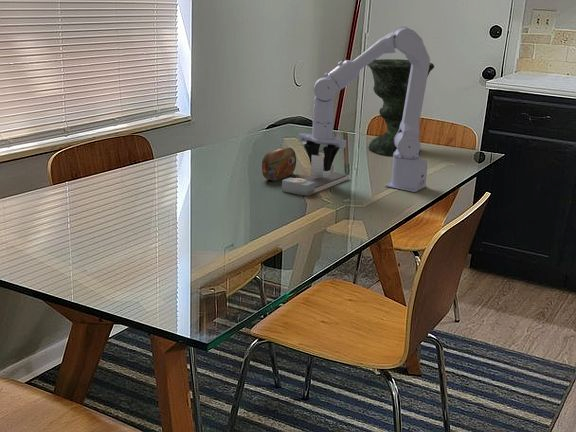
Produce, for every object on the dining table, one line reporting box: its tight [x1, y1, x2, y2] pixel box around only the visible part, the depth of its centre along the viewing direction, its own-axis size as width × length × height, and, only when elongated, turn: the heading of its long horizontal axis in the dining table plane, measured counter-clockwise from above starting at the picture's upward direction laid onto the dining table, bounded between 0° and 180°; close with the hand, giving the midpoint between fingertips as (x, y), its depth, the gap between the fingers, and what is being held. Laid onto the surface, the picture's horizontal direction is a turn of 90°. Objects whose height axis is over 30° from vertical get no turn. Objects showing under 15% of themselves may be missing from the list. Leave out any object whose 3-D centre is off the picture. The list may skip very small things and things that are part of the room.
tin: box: [261, 147, 297, 182], centre depth 217 cm, size 15×3×8 cm, turn 147°
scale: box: [281, 170, 350, 197], centre depth 211 cm, size 8×23×4 cm, turn 146°
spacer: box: [310, 152, 331, 178], centre depth 211 cm, size 4×4×6 cm
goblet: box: [367, 58, 435, 157], centre depth 253 cm, size 22×23×30 cm
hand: (320, 169), depth 212 cm, fingers closed on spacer, 4 cm apart
